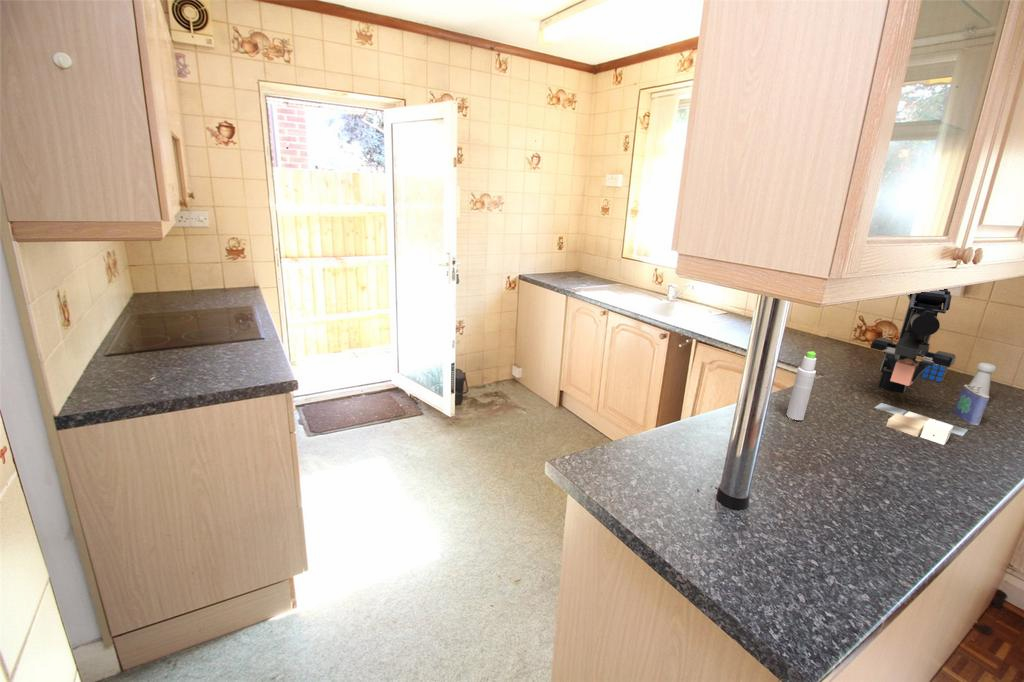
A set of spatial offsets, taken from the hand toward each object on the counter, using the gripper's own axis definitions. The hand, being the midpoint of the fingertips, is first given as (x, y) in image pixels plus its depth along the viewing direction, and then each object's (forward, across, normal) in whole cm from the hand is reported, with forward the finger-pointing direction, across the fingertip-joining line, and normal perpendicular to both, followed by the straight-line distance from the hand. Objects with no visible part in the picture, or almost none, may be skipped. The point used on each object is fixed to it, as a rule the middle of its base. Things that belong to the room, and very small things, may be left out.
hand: (902, 378), depth 142 cm
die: (+9, +10, -12) cm, 18 cm away
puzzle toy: (+11, -1, +52) cm, 53 cm away
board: (+11, +6, 0) cm, 13 cm away
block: (+11, +6, -12) cm, 17 cm away
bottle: (+11, -15, -32) cm, 37 cm away
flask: (+11, +14, +14) cm, 23 cm away
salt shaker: (+11, +13, +37) cm, 41 cm away
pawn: (+1, 0, 0) cm, 1 cm away
